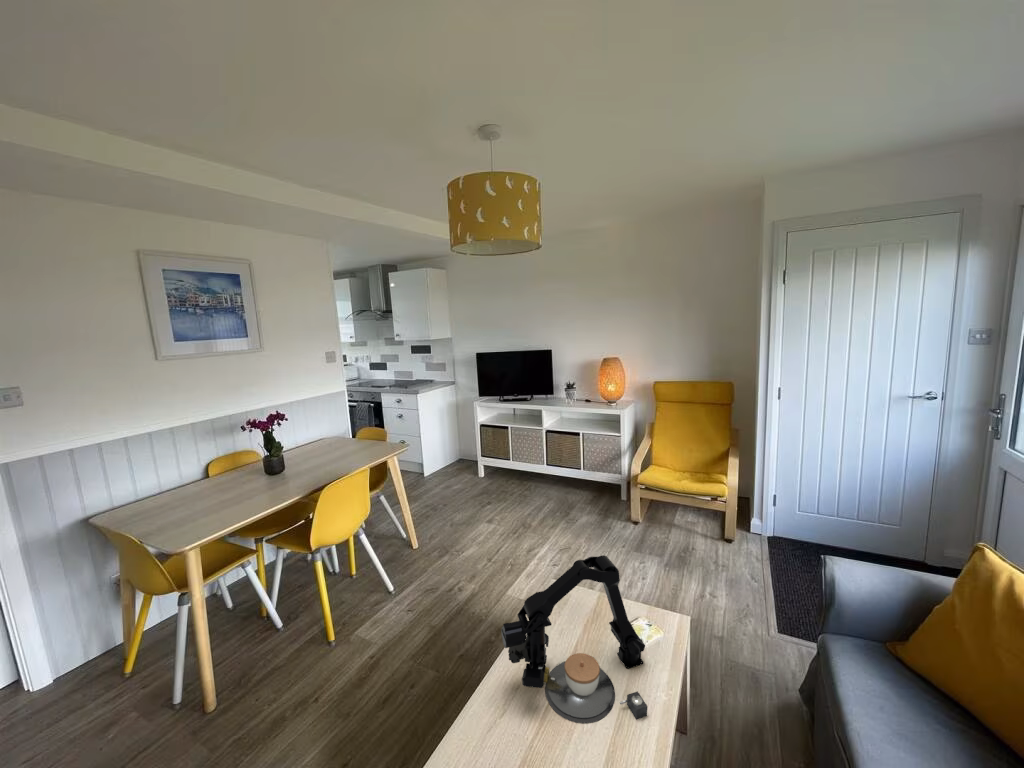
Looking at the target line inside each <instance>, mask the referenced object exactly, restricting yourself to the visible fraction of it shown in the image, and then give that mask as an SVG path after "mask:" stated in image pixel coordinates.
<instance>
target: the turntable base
mask: <svg viewBox="0 0 1024 768" xmlns="http://www.w3.org/2000/svg"><path fill="white" fill-rule="evenodd" d="M554 668H555V667H554ZM554 668H552V669H551V670H550V671H549V675H550V673H551V671H552V670H553V669H554ZM607 676H608V677H609V679H610V682H611V684H612V691H613V693H612V701H611V703H610V705H609V707H608V708H607V710H606V711H605V712H603V713H602V714H601V715H599V716H597V717H594V718H590V719H577V718H573V717H570V716H568V715H566V714H564V713H562V712H561V711H560V710H558V709H557V708H556V707H555V706H554V704H553V703H552V701H551V699H550V697H549V695H548V689H547V683H545V682H544V695H545V697H546V700H547V702H548V705H549V706H550V708H551V709H552V710H553V711H554V712H555V713H556V714H557V715H558V716H560V717H561V718H563V719H565V720H567V721H569V722H571V723H576V724H593V723H597V722H598V721H601V720H603V719H604V718H605V717H607V715H609V714H610V712H611V711H612V709H613V708H614V704H615V701H616V700H615V699H616V690H615V686H614V683H613V682H612V679H611V678H610V676H609V675H608V674H607Z"/></svg>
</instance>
